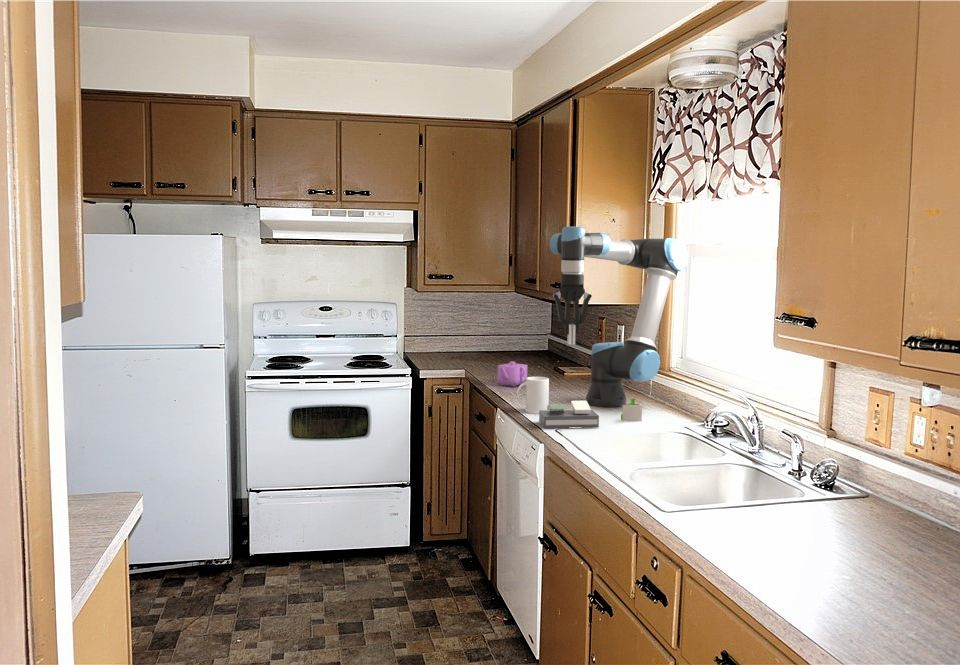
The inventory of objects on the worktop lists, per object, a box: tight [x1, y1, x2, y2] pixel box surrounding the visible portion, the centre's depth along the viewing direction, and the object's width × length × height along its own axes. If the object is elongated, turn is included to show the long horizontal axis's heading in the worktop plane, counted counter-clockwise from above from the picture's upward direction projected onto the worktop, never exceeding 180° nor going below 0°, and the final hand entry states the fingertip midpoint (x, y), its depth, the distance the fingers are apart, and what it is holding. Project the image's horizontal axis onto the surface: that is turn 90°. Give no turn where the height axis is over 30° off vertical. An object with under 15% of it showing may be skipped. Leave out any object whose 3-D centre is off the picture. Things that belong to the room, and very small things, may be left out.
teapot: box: [496, 360, 528, 388], centre depth 342 cm, size 18×14×10 cm
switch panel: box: [538, 409, 600, 430], centre depth 268 cm, size 18×10×5 cm, turn 95°
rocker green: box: [547, 404, 568, 410], centre depth 268 cm, size 5×7×1 cm
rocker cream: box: [570, 400, 592, 414], centre depth 268 cm, size 5×7×1 cm
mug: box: [516, 376, 550, 415], centre depth 289 cm, size 12×8×12 cm
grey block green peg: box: [620, 397, 643, 422], centre depth 276 cm, size 4×7×8 cm, turn 102°
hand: (571, 343), depth 271 cm, fingers closed
